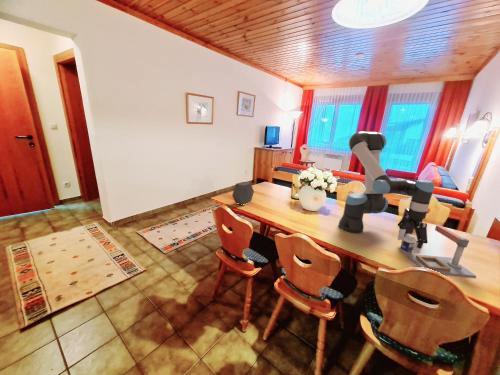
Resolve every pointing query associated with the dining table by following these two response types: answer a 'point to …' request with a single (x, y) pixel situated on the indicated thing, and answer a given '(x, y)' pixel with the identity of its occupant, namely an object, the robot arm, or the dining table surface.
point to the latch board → (443, 263)
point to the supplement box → (409, 230)
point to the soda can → (405, 211)
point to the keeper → (452, 236)
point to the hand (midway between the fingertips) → (407, 245)
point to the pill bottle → (407, 243)
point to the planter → (243, 193)
